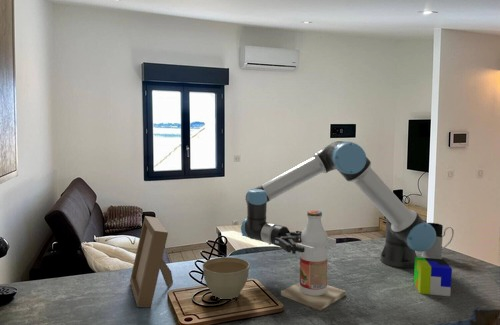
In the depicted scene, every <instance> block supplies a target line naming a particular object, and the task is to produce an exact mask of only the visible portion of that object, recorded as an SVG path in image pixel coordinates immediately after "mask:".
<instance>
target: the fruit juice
mask: <svg viewBox="0 0 500 325" xmlns="http://www.w3.org/2000/svg"><path fill="white" fill-rule="evenodd" d="M306 215H307V221H306V222H307V223H306V226H305V228H304V229H303V230H302V231H301V232H302V233H301V241H302V243H301V244H303V245H306V246H310V247H314V256H310V255H307V254H303V253H299V282H300V291H301V292H302V293H304V294H306V295H310V296H320V295H323V294H325V293H326V291H327V285H328V259H329V258H328V256H329V255H328V249H327V245H326V244H327V240H328V237H329V236H328V234H327V232H326V230H325V229H324V227H323V223H322V217H323V212H322V211H320V210H308V211H307V214H306Z"/></svg>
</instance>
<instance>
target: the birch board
mask: <svg viewBox="0 0 500 325" xmlns="http://www.w3.org/2000/svg"><path fill="white" fill-rule="evenodd" d="M280 296H281V297H285V298H286V299H289V300H292V301H295V302H297V303H299V304H301V305H305V306H308V307H309V308H313V309H315V310H317V311H320V312H321V311H323V310H324V309H325V308H327V307H328V306H330V305H332V304H334V303H335V302H337V301H338V300H340V299H341V298H343V297H344V296H346V290H344V289H341V288H337V287H334V286H331V285H328V284H327V291H326V293H325V294H323V295H320V296H310V295H306V294H304V293H302V292H301V291H300V281H299V282H296V283H295V284H293V285H291V286H289V287H286V288H285V289H283V290H281V291H280Z"/></svg>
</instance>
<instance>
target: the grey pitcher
mask: <svg viewBox="0 0 500 325" xmlns="http://www.w3.org/2000/svg"><path fill="white" fill-rule="evenodd" d="M427 223H428V224H430V225H431V226H432V227H433V228H434V229H435V232H436V240H435V243H434V244H433V246H432V247H431V248H430V249H428V250H426V251H423V252H422V253H421V258H434V259H443V255H442V252H443V250H444V249H445V248H446V247H447V246H448V245H450V244H451V242H452V241H453V238H454V234H455V233H454V228H452V227H450V226H447V227H446V228H444V227H443V226H444V225H442V224H440V223H436V222H435V223H434V222H427ZM443 228H444V230H443ZM448 229H451V236H450V239H449V241H448V242H447V243H446V244H445V245H444V246H443V237H445V236H446V231H447V230H448Z"/></svg>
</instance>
